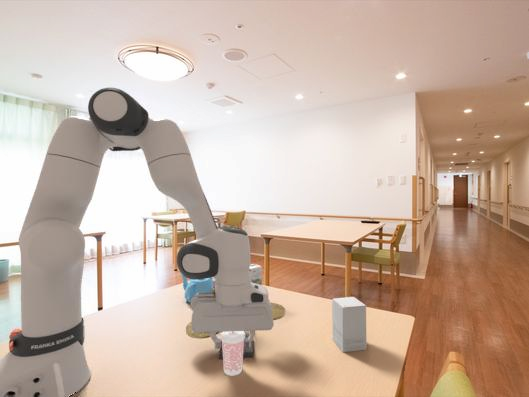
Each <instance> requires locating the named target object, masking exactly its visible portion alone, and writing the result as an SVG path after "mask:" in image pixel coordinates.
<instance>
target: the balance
mask: <svg viewBox="0 0 529 397" xmlns="http://www.w3.org/2000/svg"><path fill="white" fill-rule="evenodd" d="M270 304H271V308H272V313H273V321H277V320H280V319H282V318H283V317H285V315H286V309H285V307H284V306H283V305H282V304H279V303H275V302H270ZM185 333H186V335H187V336H188V337H190V338H193V339H200V340H201V339H208V338H211V337H210V332H199V333H195V332H193V330H192V329H191V321H190V322H189V323H187V325H186V326H185ZM218 334H221V332H216V336H217V335H218ZM249 335H250V334H247V335H246V334H245V338H248V337H249ZM218 353H219V355H218V357H219V358H218V359H219V360H223V350H222V340H221V349H219V352H218ZM245 358H247V359H248V358H254V348H253V340H252V341H251V348H245V339H244V349H243V359H245Z"/></svg>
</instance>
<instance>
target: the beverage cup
mask: <svg viewBox="0 0 529 397" xmlns="http://www.w3.org/2000/svg"><path fill="white" fill-rule="evenodd" d="M245 335H246V331H229V332H220V339H221V340H222V350H223V359H222V363H223V364H222V365H223V372H224V374H226V375H227V376H232V377H233V376H238V375H239V374H241V373H242V371H243V365H244V364H243V362H244V361H243V360H244V358H243V349H244V339H245Z"/></svg>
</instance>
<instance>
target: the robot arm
mask: <svg viewBox="0 0 529 397" xmlns="http://www.w3.org/2000/svg"><path fill="white" fill-rule="evenodd" d="M87 111H88V114H89V115H88V116H89V117H87V118H86V117H85V116H77V115H76V116H75V115H73V116H68V117H66V118H64V119H63V120H62V121H61V122H60V123H59V125H58V127H57V128H56V130H55V132H54V133H53V136H52V138H51V141H50V143H49V145H48V148H47V150H46V152H45V158H44V161H43V164H42V166H41V169H40V170H41V171H40V173H39V176H38V180H37V184H36V187H35V190H34V193H33V196H32V198H31V200H30V204H29V207H28V210H27V212H26V216H25V218H24V221H23V224H22V227H21V230H20V233H19V237H18V247H19V250H20V251H19V252H20V312H21V313H20V318H21V319H20V320H21V321H20V322H21V325H20V326H21V328H15V329H13V330H12V331H11V332H10V334H9V342H8V350H9V352H7V353H6V354H5V355H3V357H1V358H0V397H68V396H69V395H71V394H73V393H75V392H76V393H77V392H79V391H80V390H81V389H83V387H85V386H86V384H87V383H88V382H89V380H90V378H91V375H92V373H91V372H92V371H91V370H90V368H89V365H88V362H87V359H86V358H87V357H86V353H85V348H84V343H85V336H86V331H85V330H86V329H85V320H84V318H83V317H82V315H83V314H82V282H83V280H82V279H83V273H84V264H85V251H86V250H85V248H86V240H85V235H84V233H83V232H82V230H81V229H80V227H81V224H82V222H83V219H84V216H85V214H86V211H87V209H88V207H89V205H90V203H91V202H92V199H93V196H94V193H95V189H96V186H97V182H98V177H99V175H100V170H101V167H102V166H101V165H102V163H103V159H104V156H105V154H106V152H107V151H108V150H110V151H112V152H122V151H123V152H128V151H129V152H134V151H139V150H142V152H143V155H144V157H145V160H146V164H147V168H148V171H149V175H150V178H151V180H152V182H153V183H154V185H155V187H156V189H157V190H158V191H159V192H160V193H161V194H163V195H165V196H167V197H169V198H170V199H172V200H174V201H175V202H178V203H179V204H180V205H181V206H182V207H183V208H184V210H186V212H187V215H188V217H189V220H190V222H191V225H192V227H193V230H194V233H195V235H196V238H195V239H194V240H191V241H189V242H186V244H184V245H182V246H181V247H180V248H179V250H178V251H177V255H176V265H177V268H178V270H179V272H180V274H182V275H183V276H185V277H186V278H187V280H191V279H192V280H197V279H205V278H211V277H212V278H215V292H208V293H197V294H196V295H194V296H193V297H192V298H191V303H190V308H191V310H192V315H191V321H190V322H191V329H192V330H193V332H195V333H199V332H210V337H209V338H210V339H211V340H212V341H213V343H214V349H215V350H218V349H219V350H220V349H221V338H218V336H217V335H216V332H220V333H222V332H229V331H244V332H246V331H247V332H249V334H248V335H249V337H248V338H245V348H251V341H252V342H253V339H254V337H255V336H256V331H270V330H272V328H273V327H274V325H275V324H274V320H273V313H272V308H271V304H270V303H271V301H270V298H269V291H268V289H267V287H266V286H265V285H264V284H262V285H259V284H256V283H252V282H251V278H250V274H249V267H250V265H251V264H252V262H251V261H252V260H251V259H252V258H251V244H250V238H249V234H248V233H247V231H245V230H244V229H242V228H239V227H235V226H227V225H226V226H225V225H223V226H220V227H218V226H217V224H216V221H215V218H214V215H213V213H212V210H211V207H210V205H209V202H208V200H207V197H206V195H205V192H204V190H203V187H202V184H201V182H200V180H199V176H198V174H197V171H196V167H195V164H194V160H193V157H192V155H191V151H190V148H189V146H188V143H187V142H186V139H185V137H184V135H183V132H182V130H181V129H180V127H179V126H178V124H177V123H176V122H175V121H174V120H171V119H168V118H157V119H156V118H153V119H152V118H150V117H149V112H148V110H146V109H145V107H143V106H142V105H141V104H140V103H139V101H137V100H136V99H135V98H134V97H133V96H131V95H130V94H129V93H127V92H126V91H125V90H123V89H119V88H116V87H104V88H101V89H99V90H97V91H95V92H94V93H93V94H92V96H91V97H90V99H89V101H88V106H87ZM182 275H181V276H182ZM195 296H197V297H195ZM76 393H75V394H76ZM73 395H74V394H73Z"/></svg>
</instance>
